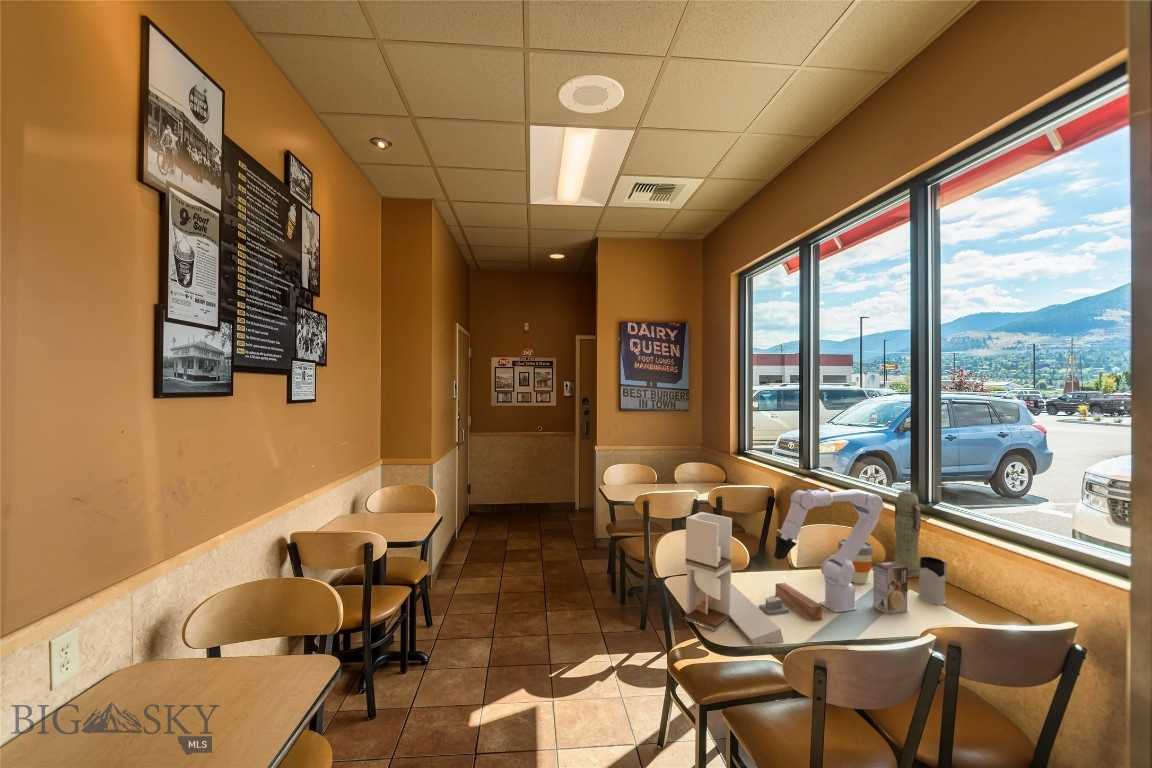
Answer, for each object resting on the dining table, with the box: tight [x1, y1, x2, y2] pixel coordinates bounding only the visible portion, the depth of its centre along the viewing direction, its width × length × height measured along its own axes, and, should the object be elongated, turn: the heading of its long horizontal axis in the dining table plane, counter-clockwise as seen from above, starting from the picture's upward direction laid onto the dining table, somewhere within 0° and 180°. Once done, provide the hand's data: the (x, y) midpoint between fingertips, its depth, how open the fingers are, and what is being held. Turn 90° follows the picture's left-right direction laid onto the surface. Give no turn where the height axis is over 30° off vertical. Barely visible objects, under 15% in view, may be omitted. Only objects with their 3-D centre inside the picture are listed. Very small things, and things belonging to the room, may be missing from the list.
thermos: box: [893, 491, 922, 577], centre depth 212 cm, size 9×12×35 cm
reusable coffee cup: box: [838, 538, 874, 584], centre depth 205 cm, size 13×13×15 cm
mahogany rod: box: [774, 582, 823, 622], centre depth 179 cm, size 4×20×5 cm, turn 14°
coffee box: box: [872, 560, 908, 615], centre depth 178 cm, size 9×6×16 cm
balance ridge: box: [758, 596, 790, 616], centre depth 176 cm, size 8×6×4 cm
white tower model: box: [684, 511, 733, 632], centre depth 168 cm, size 11×11×35 cm
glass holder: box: [917, 556, 948, 606], centre depth 188 cm, size 9×14×15 cm, turn 117°
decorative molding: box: [730, 583, 784, 645], centre depth 171 cm, size 34×5×10 cm
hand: (779, 558), depth 176 cm, fingers open, 7 cm apart
